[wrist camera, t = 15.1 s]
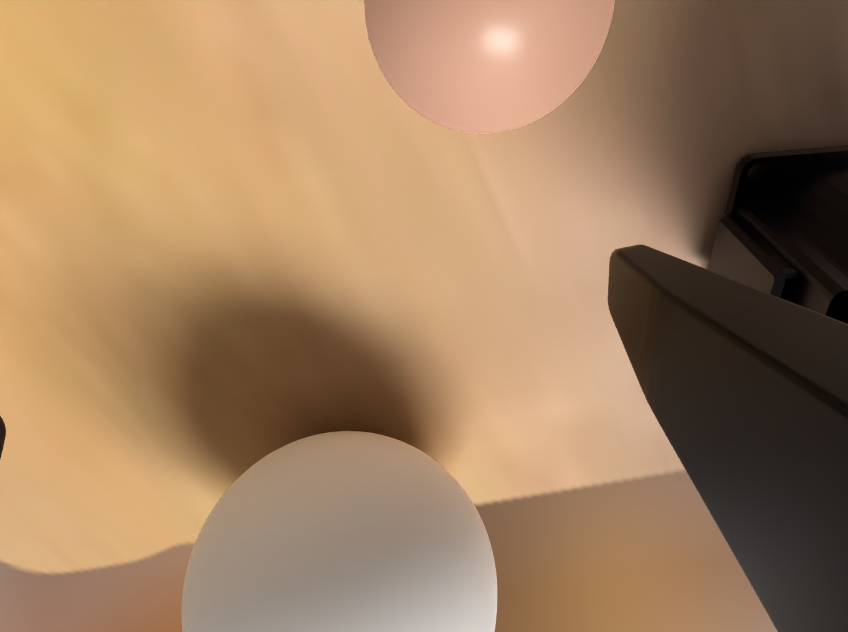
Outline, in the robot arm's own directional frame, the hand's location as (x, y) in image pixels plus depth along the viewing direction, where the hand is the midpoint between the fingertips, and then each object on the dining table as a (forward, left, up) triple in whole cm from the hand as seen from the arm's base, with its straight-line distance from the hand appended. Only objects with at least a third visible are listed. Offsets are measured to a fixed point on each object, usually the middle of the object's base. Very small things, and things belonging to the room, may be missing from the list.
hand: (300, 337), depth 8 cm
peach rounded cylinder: (-3, -3, -13) cm, 13 cm away
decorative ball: (+3, +17, -13) cm, 21 cm away
